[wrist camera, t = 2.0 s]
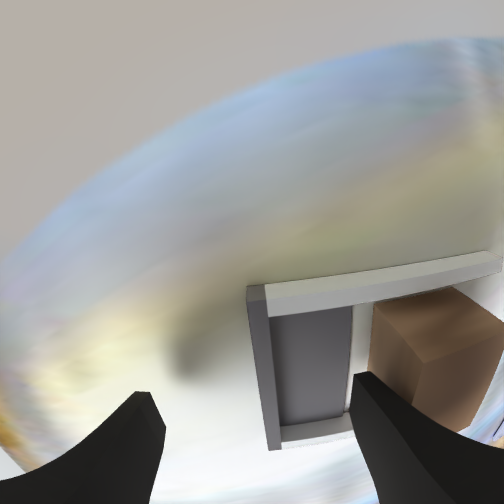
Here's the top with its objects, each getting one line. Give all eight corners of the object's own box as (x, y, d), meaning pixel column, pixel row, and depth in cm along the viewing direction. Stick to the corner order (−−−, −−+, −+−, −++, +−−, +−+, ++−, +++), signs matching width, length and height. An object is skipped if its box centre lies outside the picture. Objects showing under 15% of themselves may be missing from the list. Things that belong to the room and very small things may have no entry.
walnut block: (451, 285, 10) (510, 327, 6) (431, 375, 11) (469, 425, 7) (372, 302, 10) (423, 363, 6) (362, 396, 11) (390, 459, 7)
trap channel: (485, 250, 9) (503, 258, 8) (454, 385, 11) (464, 397, 10) (246, 286, 10) (246, 301, 8) (267, 432, 12) (268, 450, 10)
